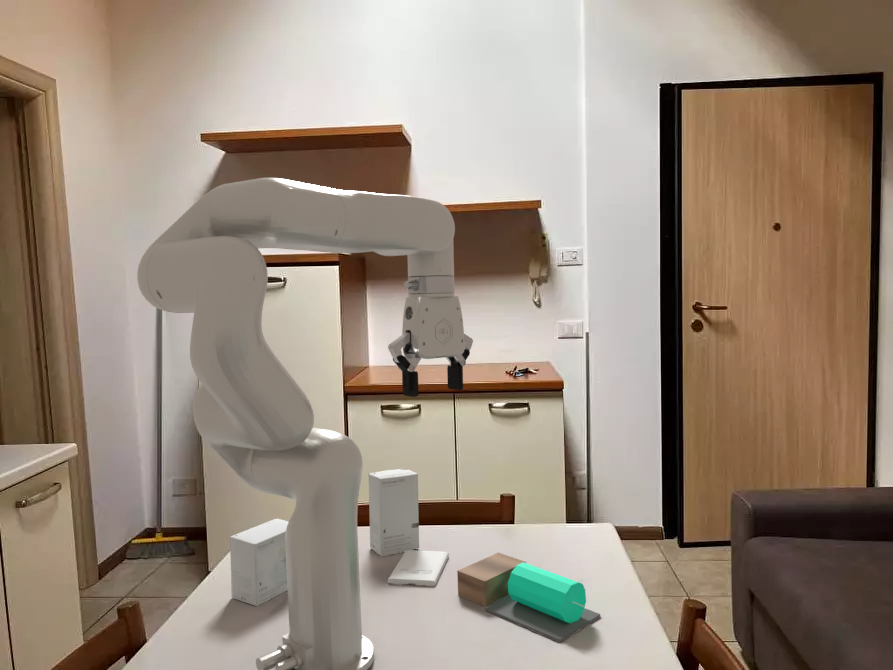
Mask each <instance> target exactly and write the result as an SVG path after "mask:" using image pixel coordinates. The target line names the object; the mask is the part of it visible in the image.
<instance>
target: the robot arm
mask: <svg viewBox="0 0 893 670" xmlns="http://www.w3.org/2000/svg"><path fill="white" fill-rule="evenodd" d="M455 233H456V226H455V221H454V218H453V215H452V213H451V211H450V210H449V208H448V207H446V206H445V205H444V204H442V203H441V202H439V201H438V200H437V201H436V200H433V199H428V198H424V197H419V196H411V195H403V194H392V193H391V194H390V193H389V194H388V193H379V192H378V193H376V192H368V191H360V190H359V191H358V190H343V189H339V188H338V189H336V188H333V187H332V188H331V187H327V186H322V185H321V186H320V185H317V184H311V183H305V182H301V181H296V180H291V179H286V178H279V177H258V178H254V179H247V180H241V181H235V182H229V183H223V184H221V185H218V186H216V187H214V188H212V189H210V191H208V192H207V193H205V194H204V195H203V196H201V197H200V198H199V199H198V200H197V201H196V202H195V203H194V204H192V205H191V207H189V208H188V209H187V210H185V212H184V213H183V214H182V215H181V216H180V217H179V218H178V219H177V220H176V221H174V223H173V224H171V226H169V227H168V228H167V229H166V230H165V231H164V232H163V233H161V235H160V236H159V237H158V238H157V239H156V240H154V241H153V242H152V243H151V245H149V246H148V248H147V249H146V251H145V252H144V253H143V255H142V256H141V259H140V261H139V264H138V267H137V272H136V276H137V279H136V280H137V284H138V288H139V290H140V292H141V295H142V296H143V297H144V299H145V300H146V302H148V303H149V304H150V305H151V306H153V307H155V308H156V309H158V310H161V311H164V312H167V313H174V314H193V318H192V324H191V330H190V331H191V332H190V343H189V344H190V345H189V357H190V358H189V359H190V363H191V367H192V370H193V373H194V374H195V376H196V378H197V379H198V380H199V381H200V383H201V384H200V386H199V387H198V389H197V391H196V393H195V395H194V399H193V405H192V413H193V414H192V416H193V417H192V418H193V421H194V424H195V427H196V429H197V431H198V434H199V436H201V438H202V440H203V441H204V442H205V443H206V444H207V446H209V447H210V448H211V450H212V451H213V452H215V454H216V455H217V456H218V457H219V458H220V459H221V460H222V461H223V462H224V463H225V464H226V466H228V468H230V469H231V471H233V472H234V473H235V474H236V475H237V477H239V478H240V480H242V481H243V482H245V483H246V484H247V485H248V486H249V487H251V488H253V490H256V491H259V492H262V493H265V494H270V495H274V496H280V497H284V498H288V499H290V500H291V499H292V500H294V501H295V507H294V510H293V512H292V514H291V516H290V518H289V521H288V522H289V523H288V525H287V528H286V533H285V554H286V569H287V589H288V590H287V603H288V605H287V606H288V609H287V610H288V625H289V626H288V627H289V632H288V633H286V634H283V635H282V644H281V645H278V646H277V648H276V650H274V651H271V652H268V653H266V654H263V655H261V656H259V657H257V658H256V659H255V666H256V669H257V670H272V669H274V668H275V670H368V669H370V667H371V666H372V664H373V663H374V660H375V648H374V644H373V642H372V641H371V640H370V639H369V638H368V637H366V636H364V635H363V631H362V629H363V627H362V626H363V625H362V612H361V611H362V607H361V606H362V605H361V603H362V602H361V582H360V578H361V577H360V560H359V559H360V558H359V557H360V556H359V542H358V541H359V539H358V538H359V537H358V508H359V507H358V505H359V496H360V488H361V483H362V482H361V481H362V476H363V467H364V465H363V463H364V462H363V456H362V453H361V451H360V449H359V448H360V447H358V445H357V444H356V442H355V441H354V440H353V439H352V438H350V437H349V436H347V435H346V434H343V433H341V432H338V431H336V430H331V429H325V428H318V427H314V423H315V414H314V409H313V407H312V404H311V402H310V400H309V398H308V397H307V395H306V393H305V392H304V391H303V389H302V388H301V387H300V385H299V384H298V382H296V380H295V379H294V377H292V375H291V374H290V373H289V371H288V370H287V369H286V367H285V365H283V364H282V362H281V361H280V360H279V358H278V357H277V356H276V354H275V353H274V351H273V349H271V347H270V346H269V344H268V342H267V341H266V339H265V337H264V333H263V328H262V322H263V319H262V318H263V317H262V316H263V309H264V305H265V304H264V303H265V299H266V293H267V289H268V282H269V281H268V279H269V275H268V274H269V273H268V267H267V263H266V261H265V258H264V256H263V254H262V252H261V251H260V249H281V250H282V249H283V250H293V251H309V252H317V253H318V252H320V253H331V254H359V253H367V252H368V253H369V252H373V253H376V254H378V255H380V256H383V257H396V256H397V257H398V256H407V280H406V281H404V283H403V287H404V289H405V290H408V291H407V293H408V296H406V297H405V302H404V307H403V317H402V329H401V330H402V331H401V332H402V333H401V335H400V336H398V337H397V338H396V339H395V340H393V341H392V342H390V343H389V344H388V346H387V349H388V351H389V353H390V355H391V357H392V361H393V363H395V365H396V366H397V367H398V368H397V369H398V370H399V371H401V378H402V379H401V381H402V382H401V385H402V394H403V396H406V397H412V398H416V397H418V396H419V372H418V371H416V369H417V366H418V365H419V363H420V361H421V360H422V359H425V360H432V359H442V358H445V359H446V360H447V361H448V362H449V364H448V365H447V367H446V370H447V371H446V373H447V374H446V375H447V376H446V377H447V388H448V389H449V390H455V391H463V390H464V373H463V372H464V368H463V367H464V366H466V364H467V362H466V361H467V359H468V357H469V356H470V353H471V352H470V350H471V349H472V346H473V343H474V339H473V338H472V337H470V336H469V335H467V334H466V333H465V330H464V320H463V319H464V318H463V312H462V306H461V303H460V300H459V299H460V298H459V296H455V261H454V260H455V259H454V256H455V255H454V251H455V250H454V249H455V247H454V237H455Z"/></svg>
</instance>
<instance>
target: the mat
mask: <svg viewBox="0 0 893 670" xmlns="http://www.w3.org/2000/svg"><path fill="white" fill-rule="evenodd" d="M485 611H486V612H488V613H491V614H493V615H495V616H497V617H499V618H502V619H505V620H506V621H509V622H511V623H514V624H516V625H519V626H521V627H523V628H526V629H528V630H530V631H533V632H535V633H537V634H538V635H541V636H543V637H546V638H548V639H552V640H554V641H556V642H557V643H562V642H563V641H565V640H567V639H568V638H569V637H571V636H573V635H574V634H576V633H577V632H579V631H580V630H582V629H584V628H585V627H587V626H588V625H590V624H591V623H593V622H594V621H596V620H598V619H599V618H601V613H598V612H595V611H592V610H590V609H588V608H584V611H583V613H582V615H581V617H580V619H579V620H578V621H575V622H573V623H567V622H565V621H562V620H560V619H557V618H555V617H553V616H550V615H548V614H546V613H543V612H541V611H538V610H536V609H534V608H531V607H529V606H526V605H524V604H522V603H519V602H517V601H515V600H512V599H511V597H510V595H507V597H506V596H505V597H503V598H501V599H499V600H498V601H496V602H494V603H493V604H490V605H488V606H486V607H485Z"/></svg>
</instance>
